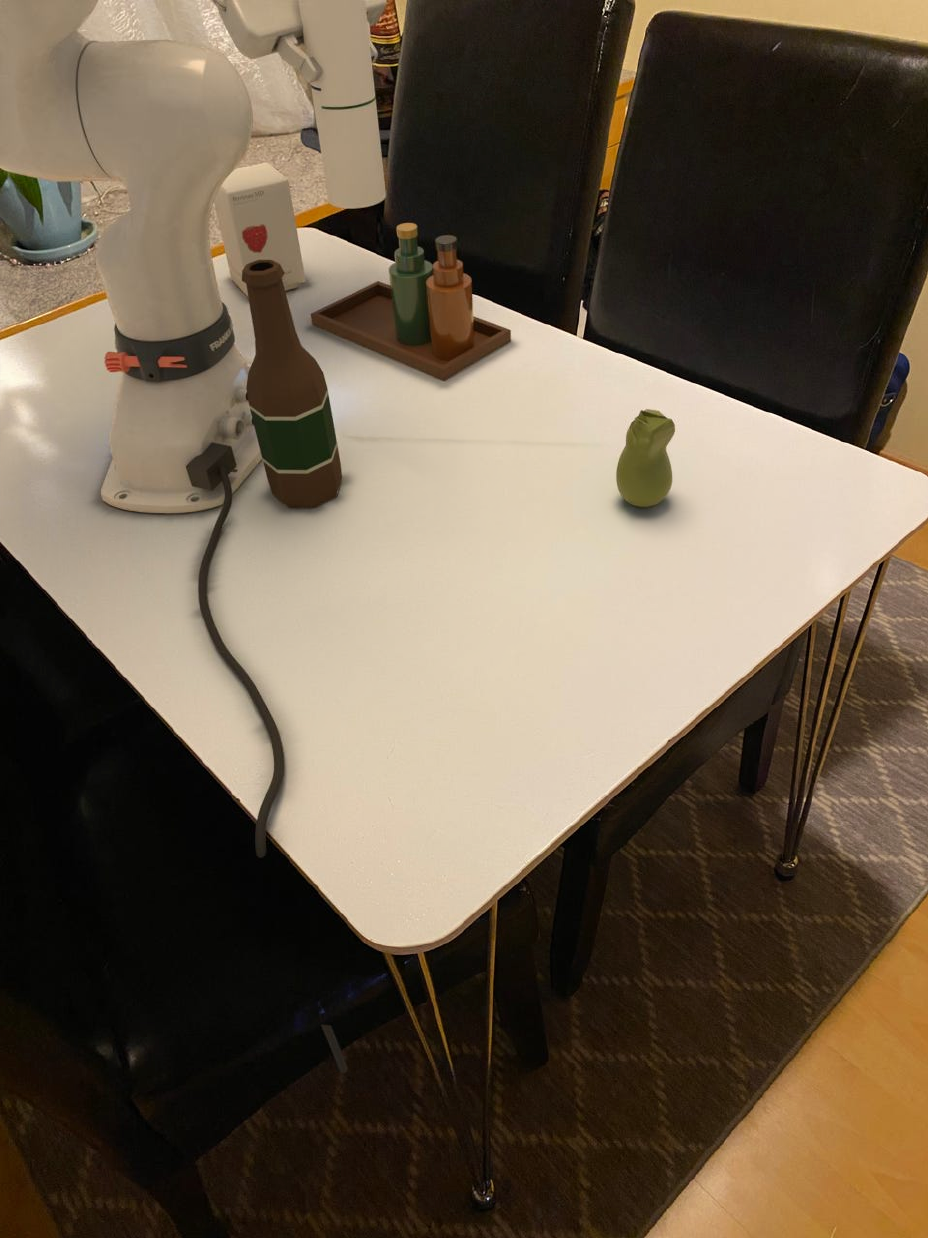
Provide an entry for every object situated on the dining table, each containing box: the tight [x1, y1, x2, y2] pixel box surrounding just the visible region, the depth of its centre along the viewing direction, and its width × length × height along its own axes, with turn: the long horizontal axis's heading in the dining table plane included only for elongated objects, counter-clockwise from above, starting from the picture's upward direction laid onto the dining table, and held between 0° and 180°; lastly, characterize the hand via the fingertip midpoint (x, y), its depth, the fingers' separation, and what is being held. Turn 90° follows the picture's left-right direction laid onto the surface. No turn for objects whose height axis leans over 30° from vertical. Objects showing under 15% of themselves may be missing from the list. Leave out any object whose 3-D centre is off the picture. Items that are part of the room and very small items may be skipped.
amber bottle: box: [426, 234, 475, 361], centre depth 109 cm, size 6×6×14 cm
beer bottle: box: [242, 260, 343, 509], centre depth 87 cm, size 8×8×24 cm
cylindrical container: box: [298, 0, 387, 210], centre depth 102 cm, size 7×7×25 cm
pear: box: [615, 408, 676, 508], centre depth 87 cm, size 6×5×10 cm
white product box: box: [213, 161, 307, 298], centre depth 128 cm, size 9×9×15 cm
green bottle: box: [388, 222, 433, 346], centre depth 113 cm, size 6×6×14 cm
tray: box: [310, 280, 512, 382], centre depth 118 cm, size 25×13×2 cm, turn 47°
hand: (345, 69), depth 101 cm, fingers closed on cylindrical container, 7 cm apart
